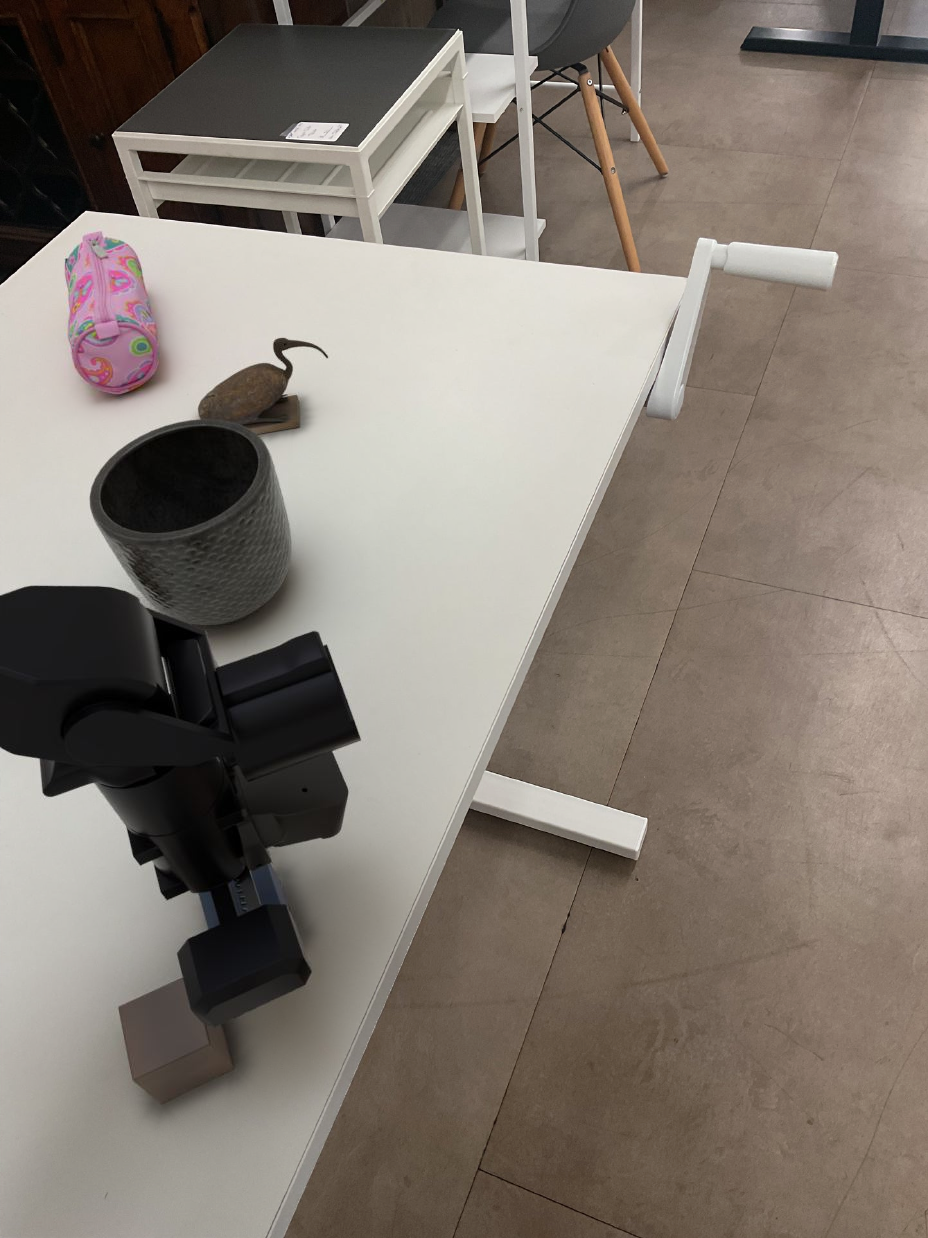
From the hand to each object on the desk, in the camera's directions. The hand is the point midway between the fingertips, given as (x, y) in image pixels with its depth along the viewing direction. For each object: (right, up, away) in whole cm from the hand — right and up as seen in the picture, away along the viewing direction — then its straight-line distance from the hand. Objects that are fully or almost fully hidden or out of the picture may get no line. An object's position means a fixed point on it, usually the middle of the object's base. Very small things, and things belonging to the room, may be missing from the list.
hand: (252, 916), depth 65 cm
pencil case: (-24, +50, +49) cm, 74 cm away
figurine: (-6, +39, +36) cm, 53 cm away
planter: (-6, +21, +21) cm, 31 cm away
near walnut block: (-3, -7, -4) cm, 9 cm away
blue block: (0, -1, +1) cm, 1 cm away
